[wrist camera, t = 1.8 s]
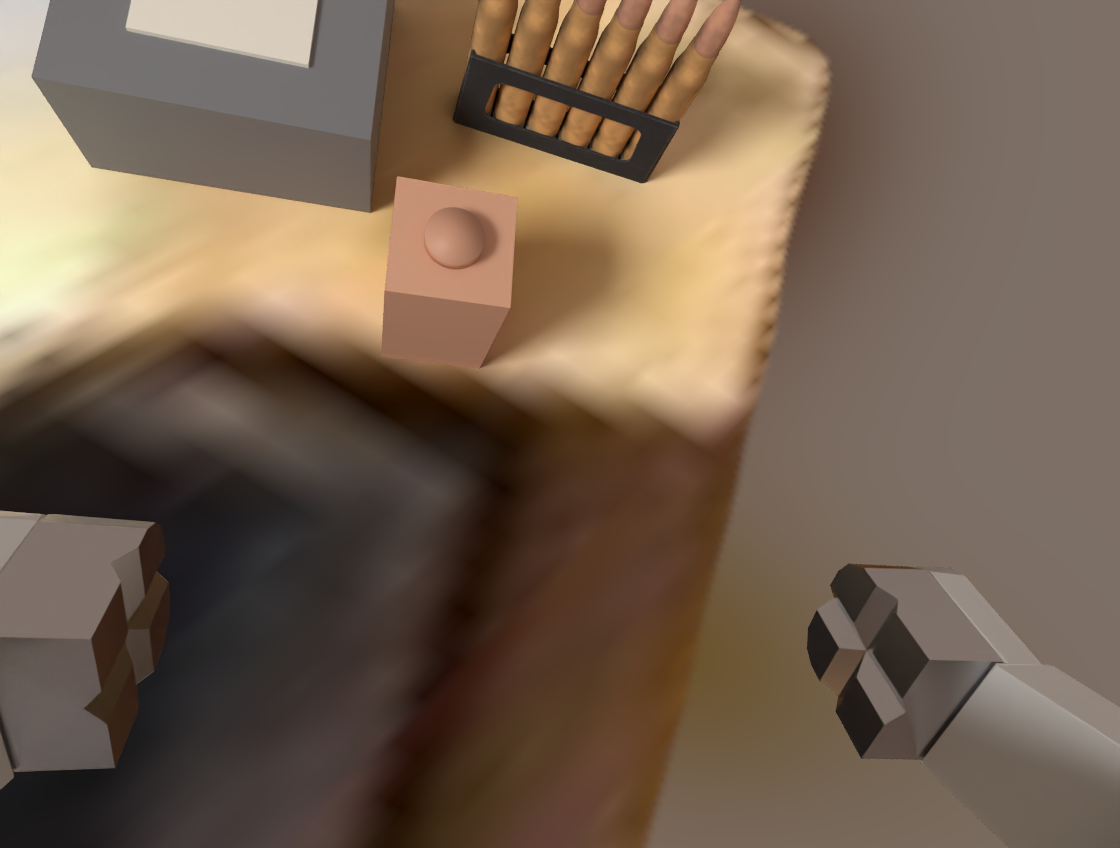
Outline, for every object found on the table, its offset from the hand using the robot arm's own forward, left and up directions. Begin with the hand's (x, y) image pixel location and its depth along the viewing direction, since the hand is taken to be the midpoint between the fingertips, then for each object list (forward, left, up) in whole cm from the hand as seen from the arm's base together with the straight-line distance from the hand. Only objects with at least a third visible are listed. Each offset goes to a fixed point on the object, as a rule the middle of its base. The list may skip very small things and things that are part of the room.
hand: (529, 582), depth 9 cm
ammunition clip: (-1, +24, -24) cm, 34 cm away
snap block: (-3, +12, -24) cm, 27 cm away
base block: (-15, +20, -24) cm, 35 cm away
